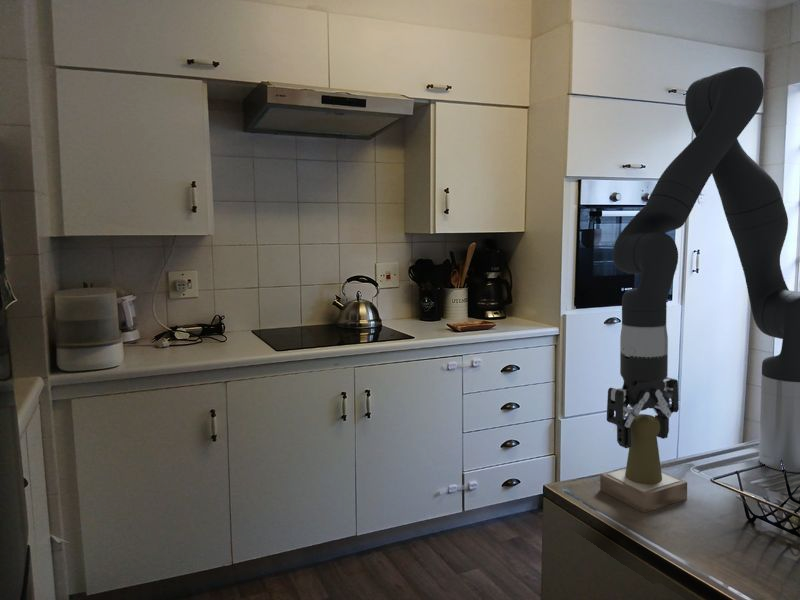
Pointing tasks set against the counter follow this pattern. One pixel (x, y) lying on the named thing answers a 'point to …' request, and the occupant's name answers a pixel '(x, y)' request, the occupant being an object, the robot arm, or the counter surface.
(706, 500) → the counter surface
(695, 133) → the robot arm
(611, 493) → the base block
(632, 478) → the cork
